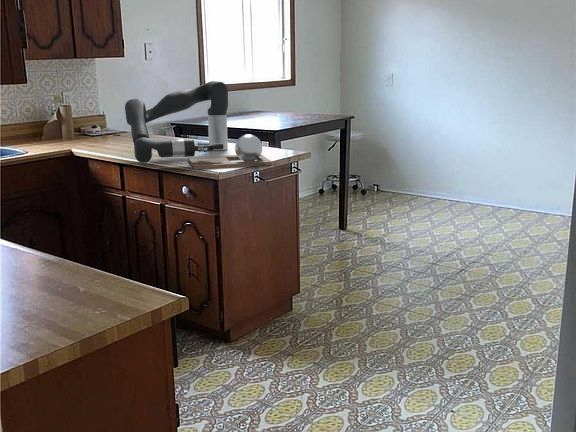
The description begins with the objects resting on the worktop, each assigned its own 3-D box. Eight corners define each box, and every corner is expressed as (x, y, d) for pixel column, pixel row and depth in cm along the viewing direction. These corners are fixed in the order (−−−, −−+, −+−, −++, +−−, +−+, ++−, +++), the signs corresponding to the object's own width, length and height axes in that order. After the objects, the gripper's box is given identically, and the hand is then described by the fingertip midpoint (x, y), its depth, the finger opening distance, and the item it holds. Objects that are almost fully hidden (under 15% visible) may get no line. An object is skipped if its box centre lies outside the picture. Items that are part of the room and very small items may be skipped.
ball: (254, 129, 279) (262, 154, 283) (229, 137, 277) (236, 162, 281) (261, 132, 268) (268, 159, 272) (234, 141, 266) (242, 167, 270)
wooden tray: (188, 160, 280) (187, 157, 279) (260, 156, 289) (259, 153, 288) (195, 169, 259) (194, 166, 259) (272, 165, 268) (272, 161, 268)
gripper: (184, 141, 260) (225, 139, 264) (180, 137, 272) (220, 135, 277) (185, 159, 262) (226, 157, 266) (181, 154, 274) (220, 152, 278)
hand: (222, 146), depth 271 cm, fingers closed
